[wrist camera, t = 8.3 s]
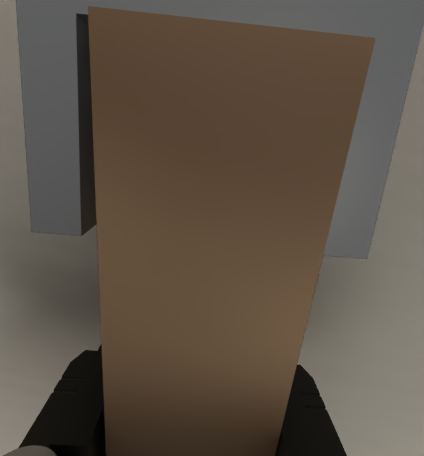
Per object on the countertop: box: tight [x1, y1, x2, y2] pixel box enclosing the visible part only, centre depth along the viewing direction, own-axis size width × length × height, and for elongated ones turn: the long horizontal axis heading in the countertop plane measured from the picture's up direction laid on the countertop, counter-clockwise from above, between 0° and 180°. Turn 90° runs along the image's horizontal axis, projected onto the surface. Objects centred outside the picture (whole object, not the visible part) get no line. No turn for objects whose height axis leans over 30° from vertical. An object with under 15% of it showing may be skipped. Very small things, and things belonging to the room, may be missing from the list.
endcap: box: [16, 0, 424, 259], centre depth 8 cm, size 5×7×4 cm
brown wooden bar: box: [88, 6, 376, 456], centre depth 9 cm, size 16×4×5 cm, turn 175°
